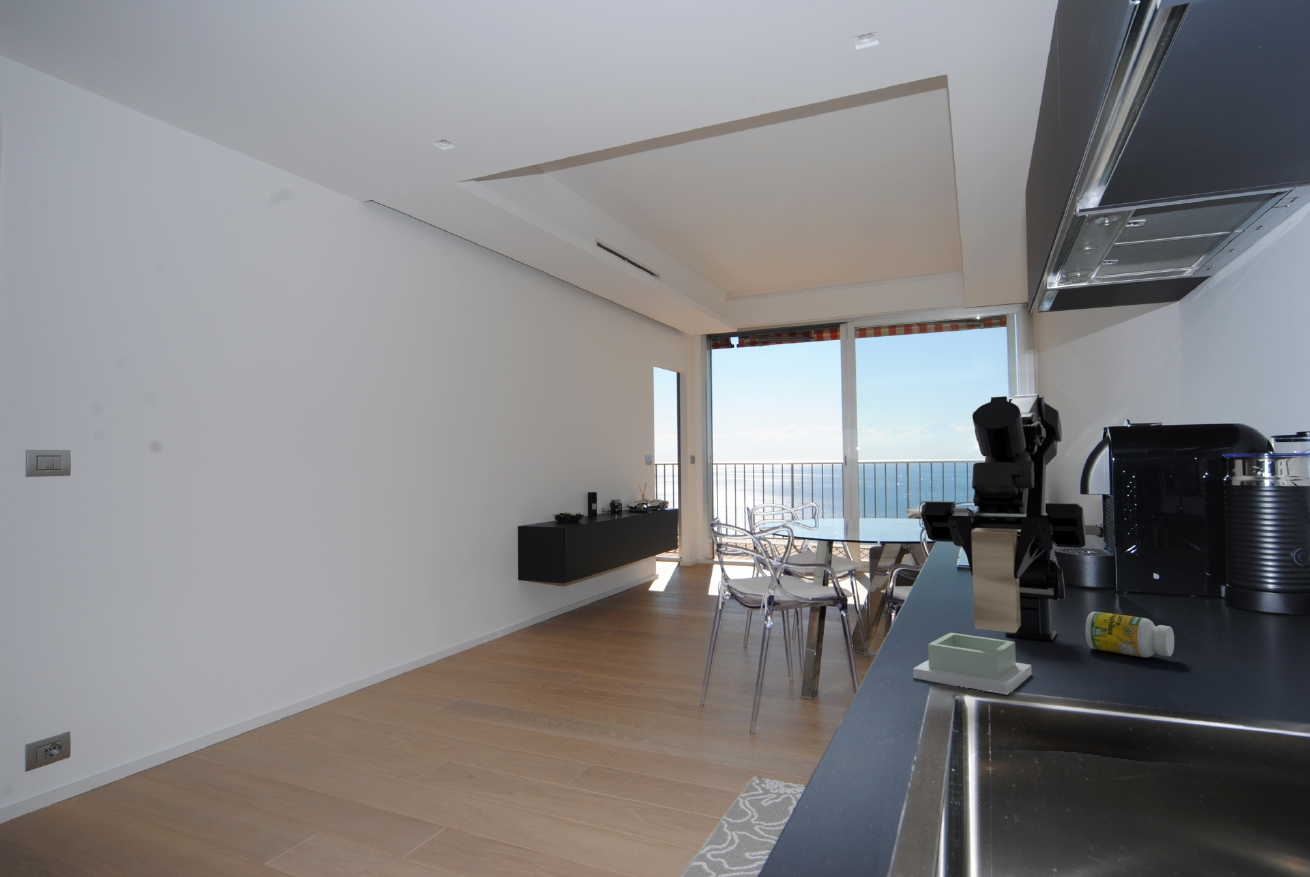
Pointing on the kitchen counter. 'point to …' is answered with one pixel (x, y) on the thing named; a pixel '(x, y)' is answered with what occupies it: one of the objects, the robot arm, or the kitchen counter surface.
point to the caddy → (973, 663)
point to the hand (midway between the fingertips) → (993, 575)
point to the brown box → (995, 579)
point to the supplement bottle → (1128, 635)
